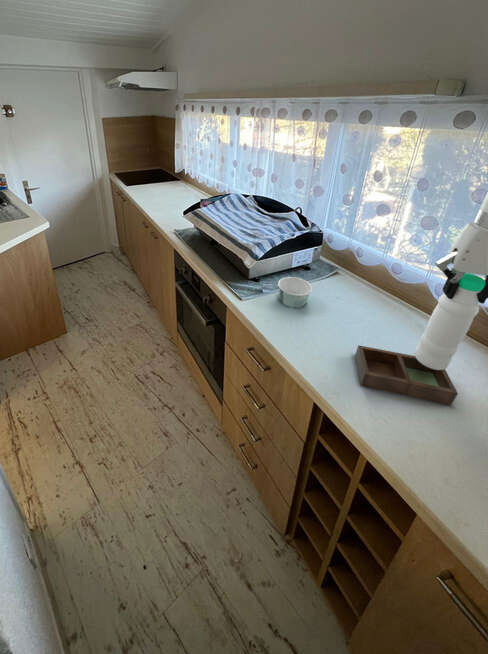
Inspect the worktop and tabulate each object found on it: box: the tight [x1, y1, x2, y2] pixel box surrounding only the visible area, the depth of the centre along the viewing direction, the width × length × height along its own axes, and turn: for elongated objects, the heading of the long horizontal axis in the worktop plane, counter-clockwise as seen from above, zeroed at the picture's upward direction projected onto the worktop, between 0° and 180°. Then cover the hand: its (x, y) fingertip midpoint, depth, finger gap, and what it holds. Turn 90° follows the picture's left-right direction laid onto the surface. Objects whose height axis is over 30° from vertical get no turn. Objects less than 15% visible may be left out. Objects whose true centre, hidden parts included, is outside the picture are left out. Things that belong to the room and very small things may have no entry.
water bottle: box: [413, 273, 485, 370], centre depth 72 cm, size 7×7×25 cm
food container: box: [277, 276, 313, 308], centre depth 113 cm, size 12×12×6 cm
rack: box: [354, 344, 459, 407], centre depth 82 cm, size 20×11×5 cm, turn 72°
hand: (462, 296), depth 68 cm, fingers closed on water bottle, 5 cm apart
